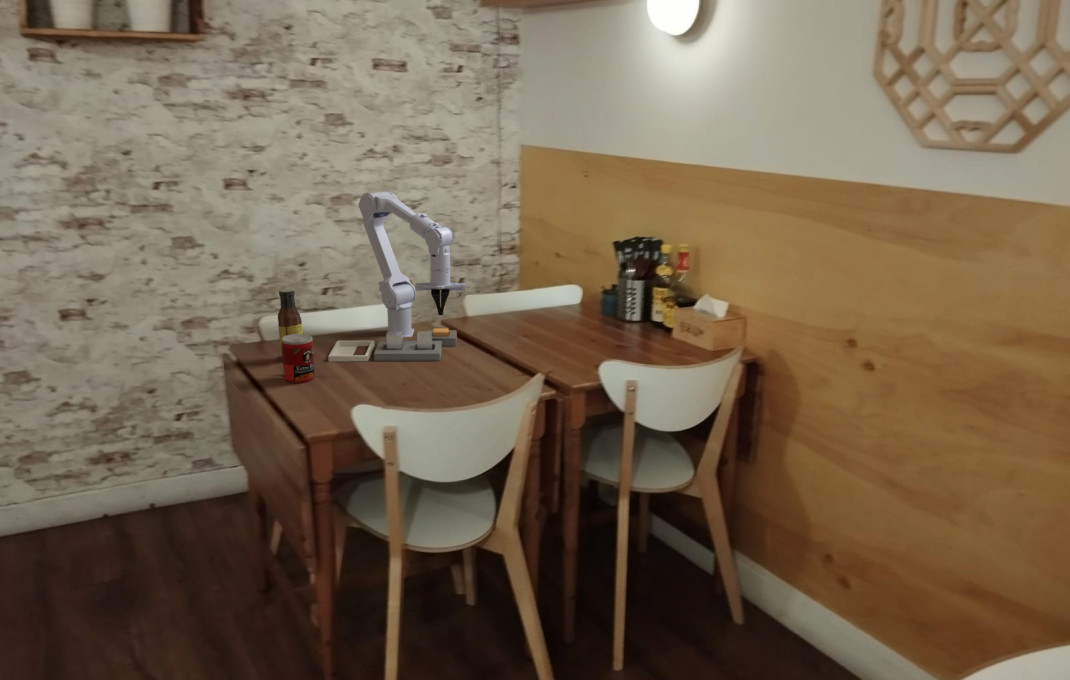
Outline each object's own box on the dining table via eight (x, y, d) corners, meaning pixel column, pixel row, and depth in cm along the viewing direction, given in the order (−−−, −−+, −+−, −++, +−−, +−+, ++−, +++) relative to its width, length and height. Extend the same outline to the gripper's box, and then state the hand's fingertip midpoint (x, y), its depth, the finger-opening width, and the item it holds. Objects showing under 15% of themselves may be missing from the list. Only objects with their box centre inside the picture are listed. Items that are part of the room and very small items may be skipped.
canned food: (297, 385, 210) (294, 343, 207) (277, 379, 214) (274, 338, 211) (321, 378, 215) (319, 337, 212) (301, 372, 220) (299, 332, 217)
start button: (433, 338, 250) (433, 328, 249) (448, 338, 250) (448, 328, 249) (433, 342, 245) (433, 332, 245) (448, 342, 246) (448, 332, 245)
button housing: (426, 339, 252) (426, 330, 251) (456, 339, 253) (456, 330, 252) (424, 348, 243) (424, 338, 242) (455, 348, 244) (455, 338, 243)
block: (418, 351, 238) (418, 331, 236) (432, 351, 238) (432, 331, 236) (417, 355, 234) (417, 335, 232) (431, 355, 234) (431, 335, 233)
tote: (337, 347, 243) (337, 340, 242) (374, 347, 244) (374, 340, 243) (328, 363, 228) (328, 356, 227) (367, 363, 229) (367, 356, 228)
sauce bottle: (308, 357, 233) (304, 288, 227) (300, 364, 227) (295, 292, 221) (285, 356, 233) (281, 287, 228) (276, 363, 227) (272, 291, 222)
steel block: (388, 351, 237) (388, 331, 235) (403, 351, 237) (402, 331, 236) (387, 356, 233) (386, 335, 232) (401, 356, 233) (401, 335, 232)
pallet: (379, 349, 241) (379, 340, 241) (442, 349, 243) (441, 340, 242) (374, 362, 229) (373, 353, 228) (440, 362, 230) (439, 353, 230)
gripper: (413, 271, 237) (414, 317, 241) (464, 271, 238) (465, 317, 242) (415, 266, 244) (416, 311, 248) (465, 267, 245) (465, 311, 249)
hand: (440, 314), depth 245 cm, fingers closed
